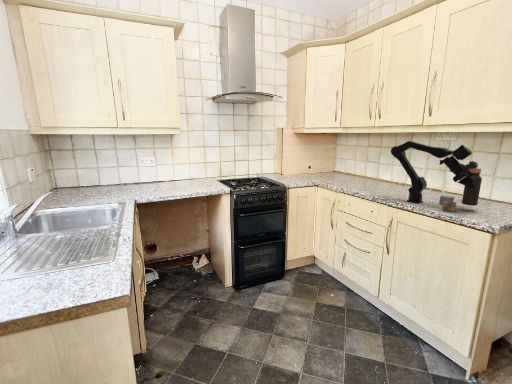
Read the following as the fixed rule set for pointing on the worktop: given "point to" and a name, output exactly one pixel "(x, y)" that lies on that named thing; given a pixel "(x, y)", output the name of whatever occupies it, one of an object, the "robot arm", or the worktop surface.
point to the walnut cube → (449, 206)
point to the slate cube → (445, 199)
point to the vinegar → (472, 194)
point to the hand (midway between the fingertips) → (475, 187)
